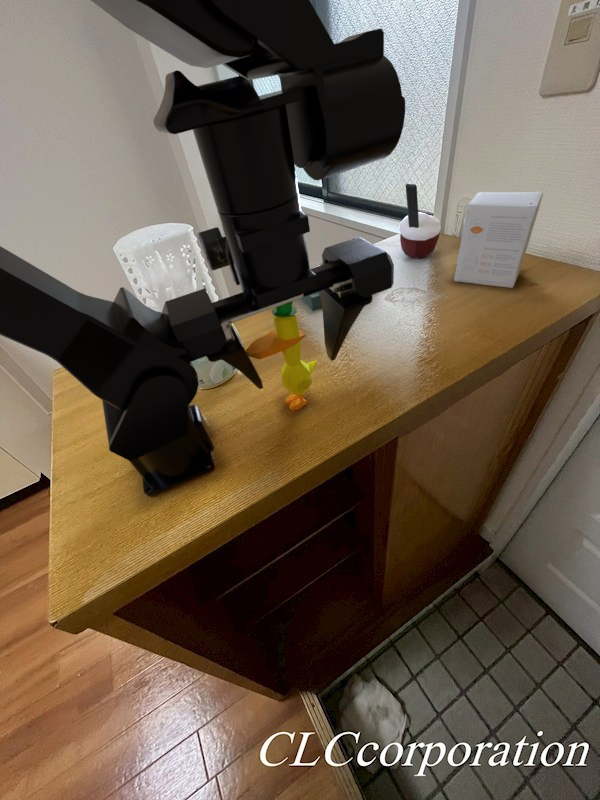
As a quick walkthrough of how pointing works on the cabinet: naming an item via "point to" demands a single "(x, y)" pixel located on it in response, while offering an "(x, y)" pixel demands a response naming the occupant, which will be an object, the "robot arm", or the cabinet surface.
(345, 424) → the cabinet surface
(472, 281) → the small box
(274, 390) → the cabinet surface
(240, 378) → the cabinet surface
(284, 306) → the toy figure
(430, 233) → the red dessert cup
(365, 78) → the robot arm
